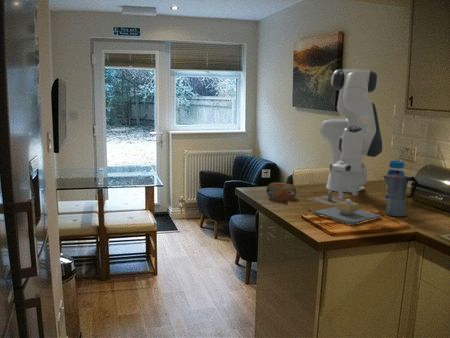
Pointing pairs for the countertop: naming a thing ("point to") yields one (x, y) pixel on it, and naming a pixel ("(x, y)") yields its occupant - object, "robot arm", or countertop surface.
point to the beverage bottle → (394, 171)
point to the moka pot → (398, 193)
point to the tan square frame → (347, 206)
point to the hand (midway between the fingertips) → (348, 196)
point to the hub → (347, 214)
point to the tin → (281, 191)
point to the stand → (327, 199)
